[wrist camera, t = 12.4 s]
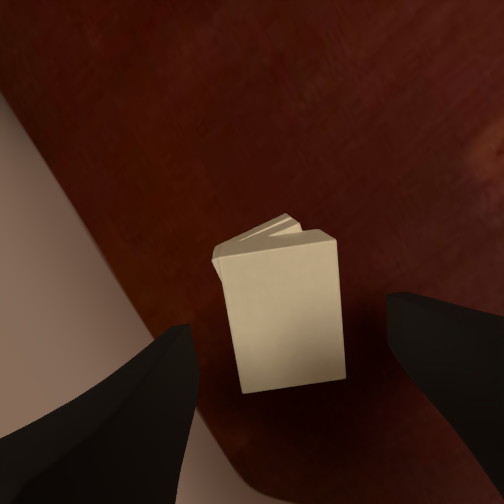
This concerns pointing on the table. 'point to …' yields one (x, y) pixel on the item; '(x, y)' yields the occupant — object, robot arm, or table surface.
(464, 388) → the robot arm
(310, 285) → the cream rectangular block
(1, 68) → the table surface
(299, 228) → the cream seamed block
